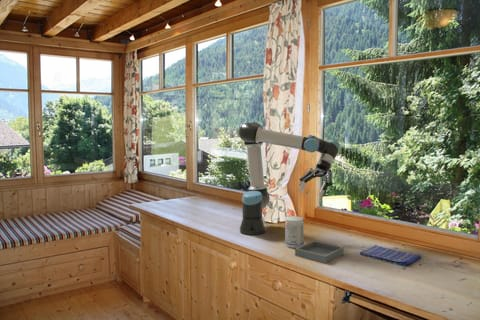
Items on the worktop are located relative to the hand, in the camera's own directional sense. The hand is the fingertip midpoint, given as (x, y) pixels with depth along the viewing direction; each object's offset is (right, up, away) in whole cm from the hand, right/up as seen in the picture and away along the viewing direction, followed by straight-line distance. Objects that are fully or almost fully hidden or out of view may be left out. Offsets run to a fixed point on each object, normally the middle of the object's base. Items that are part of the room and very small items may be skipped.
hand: (309, 193), depth 214 cm
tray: (+1, -28, -22) cm, 36 cm away
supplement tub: (-9, -27, -7) cm, 30 cm away
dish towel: (+34, -29, -25) cm, 51 cm away
